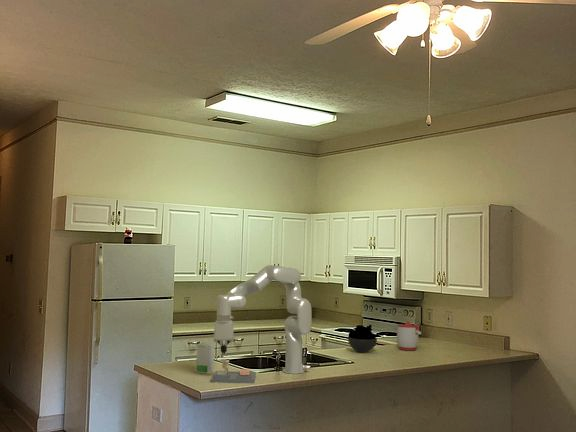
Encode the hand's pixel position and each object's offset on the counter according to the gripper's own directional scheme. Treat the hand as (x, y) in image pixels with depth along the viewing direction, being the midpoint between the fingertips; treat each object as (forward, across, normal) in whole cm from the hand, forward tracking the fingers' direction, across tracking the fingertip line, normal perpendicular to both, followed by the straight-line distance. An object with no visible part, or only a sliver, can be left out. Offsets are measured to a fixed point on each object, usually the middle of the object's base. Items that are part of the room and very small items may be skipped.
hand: (223, 353), depth 323 cm
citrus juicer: (+19, -120, -112) cm, 165 cm away
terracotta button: (+11, -11, 0) cm, 16 cm away
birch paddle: (+12, 0, -11) cm, 17 cm away
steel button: (+12, +1, +1) cm, 12 cm away
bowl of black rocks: (+18, -85, -97) cm, 130 cm away
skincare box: (+15, +13, -21) cm, 29 cm away
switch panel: (+15, -5, -5) cm, 16 cm away
